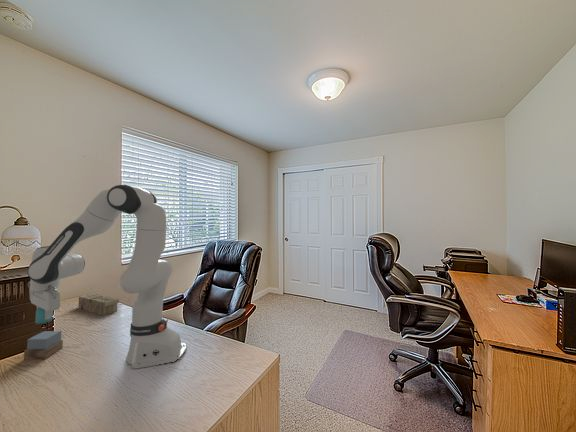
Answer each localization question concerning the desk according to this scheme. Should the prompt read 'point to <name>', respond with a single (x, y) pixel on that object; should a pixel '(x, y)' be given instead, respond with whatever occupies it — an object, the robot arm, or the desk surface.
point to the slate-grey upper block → (44, 340)
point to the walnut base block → (42, 352)
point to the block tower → (98, 303)
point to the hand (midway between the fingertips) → (44, 317)
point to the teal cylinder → (42, 316)
